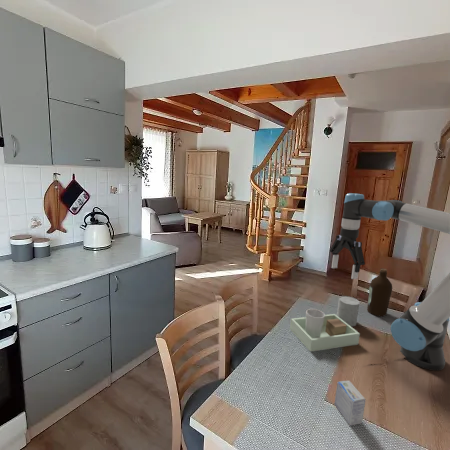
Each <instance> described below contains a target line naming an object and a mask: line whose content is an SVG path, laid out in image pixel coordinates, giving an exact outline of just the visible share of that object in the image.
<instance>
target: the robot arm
mask: <svg viewBox="0 0 450 450" xmlns="http://www.w3.org/2000/svg"><path fill="white" fill-rule="evenodd" d="M362 218H367V219H373V220H377V221H389V220H390V219H394V220H397V221H402V222H405V223H409V224H413V225H416V226H420V227H424V228H427V229H431V230H434V231H437V232H440V233H441V232H442V233H444V234H449V235H450V212H446V211H442V210H437V209H435V208H434V209H433V208H429V207H424V206H420V205H415V204H411V203H406V202H403V201H401V200H397V199H389V200H374V199H373V200H372V199H365V195H364V194H362V193H361V194H360V193H352V192H349V193H347V194H345V198H344V201H343V211H342V218H341V224H340V226H341V227H340V233H339V234H338V235H337V234H336V236H335V240H334V242H333V244H332V245H331V247H330V249H329V253H331V254H332V257H331V261H332V262H331V269H338V264H339V263H338V262H339V256H340V255H339V253H341V251H342V250H343V249H344V248H345V249H347V250H348V251H349V252H350V255H351V257H352V260H353V263H354V264H353V265H352V270H351V278H350V279H351V280H357V279H358V277H359V273H360V269H361V267H362V266H364V265H365V264H366V262H365V259H364V253H363V248H362V243H363V242H362V241H357V238H359V233H360V230H359V229H360V226H361V220H362ZM449 322H450V272H449V273H448V274H447V275H446V276H445V277H444V278H443V279H442V280H441V281H440V282H439V284H438V285H436V286H435V288H434V289H432V291H431V292H430V293H429V294H428V295H427V296H426V297H425V298H424V300H422V301H420V302H419V301H417V302H414V305H411V306H410V307H409V308H408V309H407V310H406V311H405V312H404V313H402V315H401V316H400V317H399V318H397V319H394V320H393V322H392V323H391V326H390V332H391V336H392V338H393V340H394V341H395V342H396V343H397V344H398V345H399V346H400V351H399V352H400V353H401V354H402V355H403V356H404V359H405V360H406V361H408V362H410V363H411V364H413V365H414V366H416V367H417V366H418V367H419V368H422V369H425V370H430V371H441V370H443V369H444V368H445V365H446V358H445V352H444V343H445V338H446V334H447V330H448V326H449Z"/></svg>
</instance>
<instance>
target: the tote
mask: <svg viewBox="0 0 450 450" xmlns="http://www.w3.org/2000/svg"><path fill="white" fill-rule="evenodd" d="M331 319H339V320H340V321H341V322H343V323H344V324H345V325H346V326H347V327H346V333H345V334H342V335H335V336H330V335H328V334H327V333H326V332H325V331H326V323H327V320H331ZM289 330H290V331H291V332H292V333H293V334H294V335H295V336H296V338H297V339H298V340H299V341H300V342H301V343H302V344H303V346H305V348H306V349H307V350H308V351H309V352H312V353H313V352H316V351H317V352H319V351H324V350H330V349H331V350H332V349H338V348H342V347H350V346H357V345H359V342H360V341H359V340H360V335H361V333H360V332H358V330H357V329H355V328H353V326H352V327H351V326H350V325H348V324H347V323H346V322H344V321H343V320H342V319H341V318H339V317H338V316H337V314H336V313H331V314H325V318H324V322H323V326H322V331H321V335H320V338H313V339H312V338H311V337H310V336H309V335H308V334H307V333H306V316H305V317H294V318H290V325H289Z"/></svg>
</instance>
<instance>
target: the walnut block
mask: <svg viewBox="0 0 450 450" xmlns="http://www.w3.org/2000/svg"><path fill="white" fill-rule="evenodd" d="M346 327H347V326H346V325H345V324H344V323H343V322H341V321H340V320H339V319H331V320H327V323H326V331H325V332H326V333H327V334H328V335H330V336H335V335H342V334H345V333H346Z"/></svg>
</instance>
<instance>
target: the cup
mask: <svg viewBox="0 0 450 450" xmlns="http://www.w3.org/2000/svg"><path fill="white" fill-rule="evenodd" d="M325 315H326V314H325V312H323V311H321V310H319V309H318V308H317V309H316V308H309V309H307V310H306V311H305V317H306V333H307V334H308V335H309V336H310V337H311V338H312V339H313V338H320V335H321V331H322V326H323V322H324V318H325Z"/></svg>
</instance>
